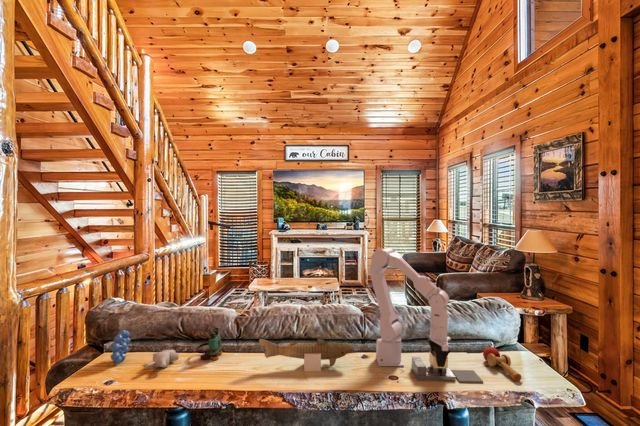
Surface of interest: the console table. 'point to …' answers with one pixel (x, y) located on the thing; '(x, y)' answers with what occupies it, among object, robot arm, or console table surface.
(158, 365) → the bunny figurine
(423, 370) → the gray fixture base
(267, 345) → the wood carving
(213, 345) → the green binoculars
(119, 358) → the grapes
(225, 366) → the console table surface
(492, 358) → the kendama
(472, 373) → the rubber mat
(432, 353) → the wooden hollow block
